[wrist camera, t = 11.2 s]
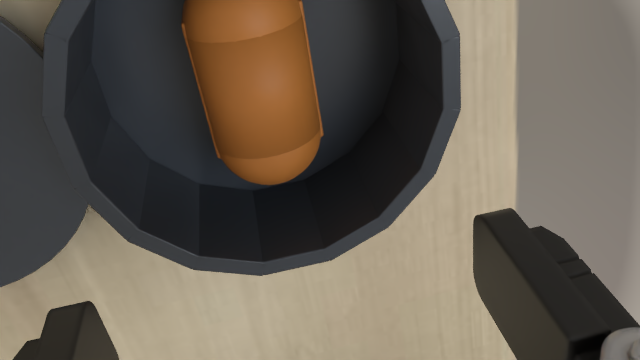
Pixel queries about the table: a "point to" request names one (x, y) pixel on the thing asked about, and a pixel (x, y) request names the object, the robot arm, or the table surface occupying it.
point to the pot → (198, 148)
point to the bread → (255, 84)
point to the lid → (29, 166)
